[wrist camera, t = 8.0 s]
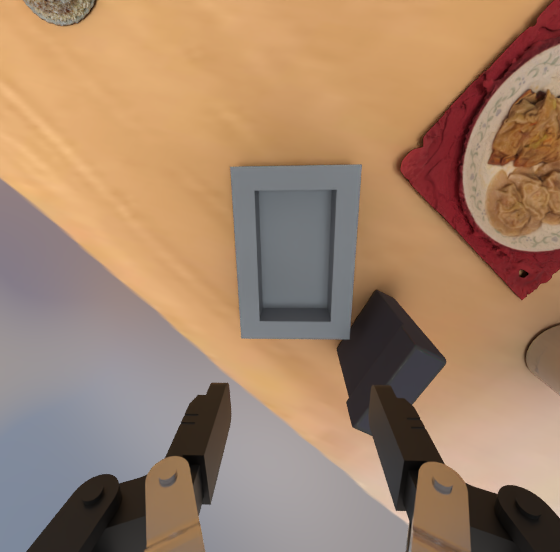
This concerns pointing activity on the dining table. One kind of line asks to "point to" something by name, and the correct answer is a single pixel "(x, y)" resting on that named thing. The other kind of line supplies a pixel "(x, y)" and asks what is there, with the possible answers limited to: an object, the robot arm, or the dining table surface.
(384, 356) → the dark bevelled slab
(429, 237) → the dining table surface
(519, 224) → the plate with food
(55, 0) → the cake
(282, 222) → the tray
